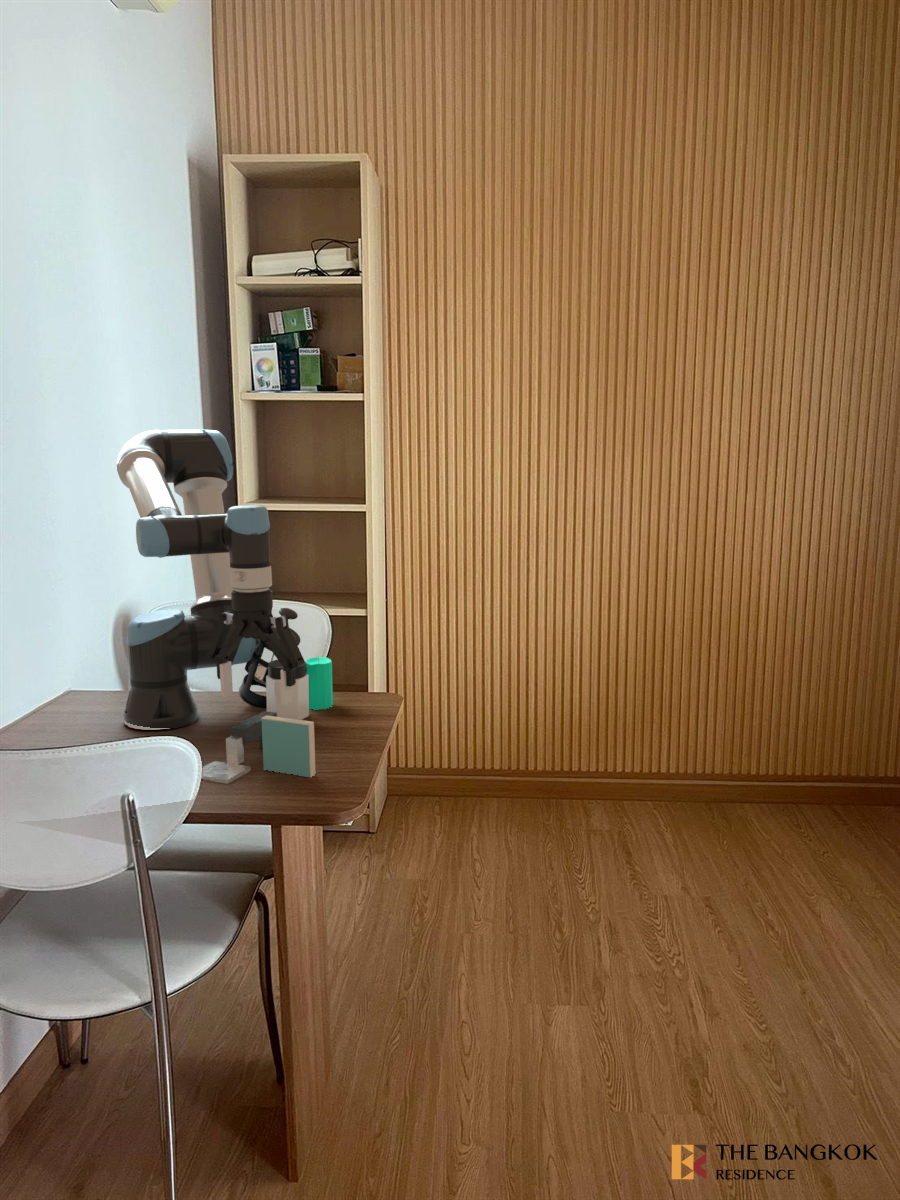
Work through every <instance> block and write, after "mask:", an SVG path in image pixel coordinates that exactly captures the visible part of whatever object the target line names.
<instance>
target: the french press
mask: <svg viewBox="0 0 900 1200" xmlns="http://www.w3.org/2000/svg"><path fill="white" fill-rule="evenodd" d="M278 613H279V615H280V616H283V615H286V616H287V618H288V620H297V619H298V616H299V615H298V613H297V612H296V611H295V610H293V609H292V608H288V607H281V608H279V610H278ZM272 628H273V630H274V631H275V632H276V634H277V638H278V639H279V640H280V642H281V639H280V637H279V635H278V633H277V630H276V628H275V627H274V624H273V625H272ZM289 628H290V630H291V633H292V635H293V637H294V639H295V641H296V643H297V646H298V647H299V645H300V644H301V637H300V635H299V634H298V632H297V631H296V630H294V629H292V628H291V627H289ZM267 635H269V634H268V633H267ZM281 643H282V642H281ZM265 649H267V650H268V651H270V652H272V651H271V650H270V648H269V647H268V645H267V644H266V643H265V642H263V641H262V640H261V639H256V645H255V650H254V653H253V656H252V658H251V659H250V660H249V661H248V662H246V663H245V667H244V670H245V671H246V673H247V674H246V675H244V677H243V680H242V682H241V684H240V686H239V688H238V695H239V697H240V699H241V700H242V701H243V702H244V703H246V704H247V705H249V706H251V707H253V708H256V709H262V710H267V701H266V695H262V694H258V693H256V692H254V691H252V690H251V687H252V686H259V687H263V688H265V689H266V676H267V675H268V663H269V662H271V661H274V658H275V655H274V654H273V653H272V656H271V659H270V661H269V662H268V661H266V660H264V659H263V658H262V656H263V653H264V651H265Z"/></svg>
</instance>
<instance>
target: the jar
mask: <svg viewBox="0 0 900 1200" xmlns="http://www.w3.org/2000/svg"><path fill="white" fill-rule="evenodd" d="M270 661H271V660H270ZM270 661H269V662H268V675H267V676H266V688H265V689H266V691H265V692H266V695H265V696H266V701H267V709H266V711H267V712H275V713H277V717H282V718H289V719H297V720H305V719H306V718H308V717H309V715H310V709H309V675H308V674H306V671H307V666H306V661H305V663H304V664H303V665H301V666H298V667H296V669H295V675H296V683H295V685H293V701H292V702H290V703H288V704H282V695H281V672H280V670H282V669H284V667H283V666H282V665H281V663H280V662H279V660H278V659H275V660H274V659H273V661H271V662H270Z"/></svg>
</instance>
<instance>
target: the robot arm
mask: <svg viewBox="0 0 900 1200" xmlns="http://www.w3.org/2000/svg"><path fill="white" fill-rule="evenodd" d="M116 459H117V461H116V470H117V474H118V477H119V479H120V481H121V483H122V484H123V485H124V486H125V487H126V488H128V489H129V492H130V495H131V498H132V499H133V502H134V504H135V508H136V511H137V512H138V515H139V517H140V518H138V519H137V521H136V524H135V540H136V545H137V549H138V553H139V555H141V556H142V557H145V558H160V559H161V558H165V557H176V556H177V557H179V556H190V561H191V562H190V563H191V569H192V577H193V585H194V592H195V601H194V603H193V604H192V605H191V606H190V614H189V615H185V613H184V611H183V610H182V609H179V608H170V609H166V608H165V609H160V610H159V609H158V610H153V611H149V612H146V613H142V614H140V615H137V616H135V617H133V618H132V619H130V620H129V622H128V624H127V626H126V629H127V630H126V641H125V642H126V645H127V650H128V653H127V654H128V666H129V667H128V668H129V669H128V670H129V681H130V682H129V683H130V684H129V686H130V688H129V692H128V696H127V700H126V705H125V709H124V710H123V711H124V712H123V721H124V720H125V721H126V722H127V723H130V724H133V725H137V726H143V727H150V728H174V729H179V728H182V727H186V726H188V725H191V724H193V723H195V722H196V721H197V720H198V719H199V713H198V706H197V704H196V703H195V700H194V698H193V694H192V692H191V691H192V690H191V688H190V685H189V682H188V671H191V670H199V669H200V670H201V669H202V670H203V669H207V668H216V676H217V679H218V680H220V697H221V698H223V699H224V698H227V697H230V696H232V695H233V694H234V690H233V687H234V686H233V673H232V672H233V671H232V670H233V669H232V666H235V665H240V664H246V663H247V662H248V661H249V660H250V659H251V658H252V656H253V653H254V650H255V645H256V639H261V640H262V641H263V642H265V643H266V644H267V645H268V647H269V648H270V650H271V651H270V650H269V651H270V652H272V655H273V654H274V657H275V658H276V660H279V662H280V663H281V665H282V666H283V667H284V669H282V670H280V672H281V695H282V704H288V703H290V702H292V701H293V685H295V683H296V675H295V669H296V667H298V666H301V665H303V664H304V663H305V662H306V660H305V659H304V657H303V655H302V652H301V651H300V648H299V645H298V646H297V643H296V641H295V639H294V637H293V635H292V633H291V630H290V628H291V627H290V626H289V625H290V624H289V619H288V618H287V616H286V615H283V616H281V615H280V616H274V615H273V612H272V611H273V607H274V606H273V605H274V603H273V602H274V599H273V590H272V589H271V588H270V587H272V586H273V576H272V575H273V574H272V564H271V563H272V562H271V561H272V559H271V535H270V534H271V533H270V527H271V522H270V516H269V510H268V509H267V507H266V506H264V505H257V504H255V505H254V504H252V505H251V504H249V505H247V504H246V505H234V506H231V507H229V508H228V509H227V511H226V512H225V508H224V501H223V493H224V491H225V490H226V489H227V487H228V482H229V481H230V480H232V478H233V474H234V466H233V456H232V452H231V449H230V445H229V443H228V441H227V438H226V436H225V435H223V433H222V432H220V431H219V430H215V429H214V430H213V429H203V428H199V429H161V430H160V429H153V430H147V431H143V432H141V433H139V434H137V435H135V436H133V437H132V438H131V439H129V440H128V441H127V442H126V443H125V444H124V445H123V447H121V450H120V452H119V453H118V456H117V458H116ZM169 483H170V484H171V483H173V489H174V492H175V494H177V495H178V496H179V497H181V498H182V504H183V510H184V511H183V512H184V515H183V514H182V511H181V510H180V507H179V505H178V503H177V501H176V499H175V497H174V495H173V493H172V490H171V488H170V486H169ZM273 624H274V627H275V628H276V630H277V633H278V635H279V637H280V639H281V642H282V643H281V642H280V640H279V639H278V638H277V634H276V632H275V631H274V630H273V628H272V625H273ZM267 633H268V634H269V635H267ZM178 727H179V728H178Z"/></svg>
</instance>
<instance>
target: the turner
mask: <svg viewBox="0 0 900 1200" xmlns="http://www.w3.org/2000/svg"><path fill="white" fill-rule="evenodd" d="M266 715H267V716H274V717H277V713H275V712H267V710H263V711H261V712H259V713H257V714H255V715H252V716H251V717H249V718H247V719H245V720H243V721H241V722H239V723H237V724H234V725H233V726H230V729H229V730H230V736H228V737H226V738H225V748H226V749H225V750H226V752H225V753H226V762H225V761H218V760H213V761H211V762H209V763H208V764H206V765H204V766H202V767H203V780H202V781H207V780H210V781H209V782H213V781H214V783H219V784H225V785H229V784H231V783H233V782H234V781H235V780H237V779H239V778H241V777H243V776H245V775H246V774H248V773H250V772H251V771H252V769H251V765H250V766H249V765H243V764H241V763H244V761H245V753H244V752H245V751H244V745H247V744H249V743H251V742H252V741H255V740H257V739H258V741H259V742H258V743H259V749H261V748H263V741H262V717H264V716H266Z"/></svg>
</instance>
